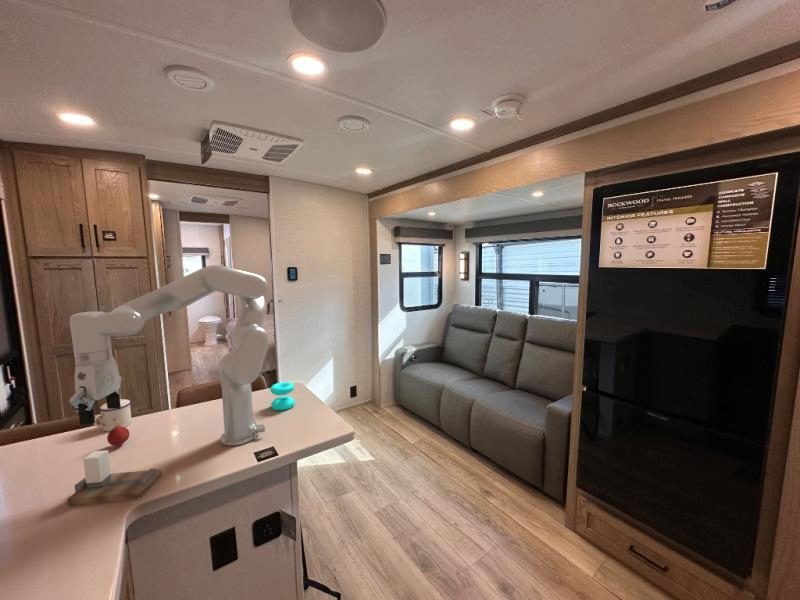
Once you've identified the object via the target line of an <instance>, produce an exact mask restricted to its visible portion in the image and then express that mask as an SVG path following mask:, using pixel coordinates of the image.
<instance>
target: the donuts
mask: <svg viewBox="0 0 800 600" xmlns="http://www.w3.org/2000/svg"><path fill="white" fill-rule="evenodd" d="M294 390H295V384H294V383H292V382H290V381H284V382H283V381H282V382H278V383H275V384H272V385H271V387H270V390H269V392H270V393H271V394H272V395H275V396H278V397H276V398H275V399H274V400H273V401H272V402H271V403H270V404H271V405H270V406H271V408H272V409H273V410H275V411H285V410H289V409H291V408H293V407H294V406H295V404H296V401H295V399H294V397H292V396H287V395H288V394H291V393H292V392H293V391H294Z"/></svg>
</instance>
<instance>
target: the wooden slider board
mask: <svg viewBox="0 0 800 600" xmlns="http://www.w3.org/2000/svg"><path fill="white" fill-rule="evenodd" d="M110 475H111V480H110V481H109V482H108V483H107V484H106V485H104V486H102V487H91V488H87V483H86V478H85V477H84V478H82V479H81V480H80V481H78V482H77V483H76V484H75V485H74V492H73V493H72V495H70V496H69V497H68V498H67V499H66V500H67V506H68V507H72V506H73V507H74V506H83V505H93V503H95V504H104V503H105V504H106V503H116V502H124V501H123V500H126V501H132V500H131V499H137V500H139V499H138V498H140V497H141V496H142V495H143V494H144V493H145V492H146V491H147V492H148V491H149V490H150V488H151V487H152V486H154V484H155V483H156V482H157V481H158V480H159V479H160V478H161V477H162V469H156V468H154V467H153V468H150V469H149V470H140V471H139V470H138V471H127V472H126V471H125V472H113V473H111V474H110ZM157 479H158V480H157ZM156 480H157V481H156ZM155 481H156V482H155ZM154 482H155V483H154ZM145 494H146V493H145ZM145 494H144V495H145ZM144 495H143V496H144ZM143 496H142V497H143ZM142 497H141V498H142ZM141 498H140V499H141ZM115 501H116V502H115Z"/></svg>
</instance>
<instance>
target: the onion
mask: <svg viewBox="0 0 800 600" xmlns="http://www.w3.org/2000/svg"><path fill="white" fill-rule="evenodd" d="M129 438H130V431H129V429H128V428H127V427H122V426H120V424H117V425H116V426H115V427H114V428H113V429H112V430H111V431H108V434H107V437H106V439H107V443H108V444H109V445H111V446H114V447H121V446H123V444H124V443H126V441H127V440H128V439H129Z"/></svg>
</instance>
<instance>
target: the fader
mask: <svg viewBox="0 0 800 600" xmlns="http://www.w3.org/2000/svg"><path fill="white" fill-rule="evenodd" d="M82 459H83V461H82V462H83V466H84V467H83V468H84V478H86V483H87V488H91V487H102V486H104V485H106V484H107V483H108V482H109V481H110V480H111V475H110V474H112V472H111V464H110V463H111V462H110V454H109V449H108V450H97V451H96V450H95V451H92V452H91V453H90V454H88V455H87V456H85V457H84V458H82Z"/></svg>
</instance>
